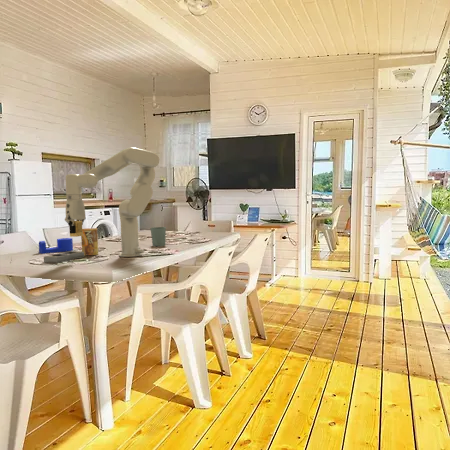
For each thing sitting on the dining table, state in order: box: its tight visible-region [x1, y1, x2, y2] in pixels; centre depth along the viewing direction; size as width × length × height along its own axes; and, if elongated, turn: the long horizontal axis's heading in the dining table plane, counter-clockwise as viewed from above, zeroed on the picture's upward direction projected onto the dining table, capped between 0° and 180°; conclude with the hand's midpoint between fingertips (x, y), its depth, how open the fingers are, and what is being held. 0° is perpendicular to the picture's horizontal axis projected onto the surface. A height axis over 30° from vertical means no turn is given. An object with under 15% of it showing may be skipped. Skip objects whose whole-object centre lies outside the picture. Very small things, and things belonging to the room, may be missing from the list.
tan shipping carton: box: [69, 220, 83, 238], centre depth 212 cm, size 5×4×8 cm
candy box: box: [80, 227, 99, 256], centre depth 235 cm, size 9×4×15 cm, turn 104°
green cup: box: [150, 226, 167, 247], centre depth 270 cm, size 10×10×12 cm
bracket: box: [38, 237, 74, 255], centre depth 251 cm, size 20×9×8 cm, turn 134°
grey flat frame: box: [43, 250, 85, 264], centre depth 219 cm, size 20×9×3 cm, turn 158°
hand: (76, 232), depth 212 cm, fingers closed on tan shipping carton, 4 cm apart
